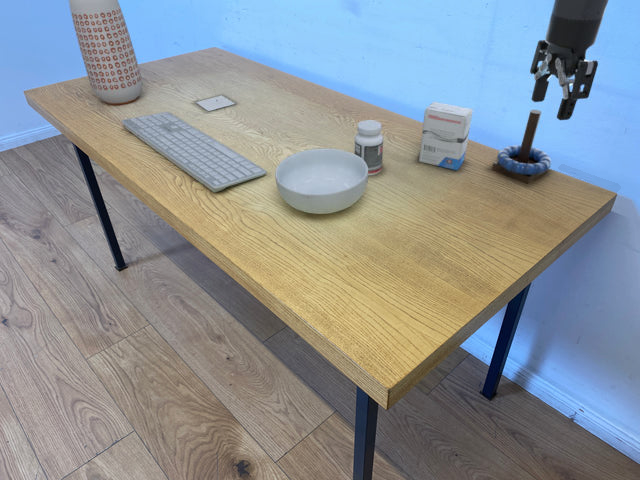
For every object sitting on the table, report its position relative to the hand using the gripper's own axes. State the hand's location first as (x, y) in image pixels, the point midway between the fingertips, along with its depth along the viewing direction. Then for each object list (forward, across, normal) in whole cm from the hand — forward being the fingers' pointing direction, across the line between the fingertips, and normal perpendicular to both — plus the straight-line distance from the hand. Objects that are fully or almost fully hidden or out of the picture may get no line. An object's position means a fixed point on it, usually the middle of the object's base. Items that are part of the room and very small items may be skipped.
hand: (549, 109), depth 85 cm
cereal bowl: (+15, 0, +42) cm, 44 cm away
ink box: (+15, +10, +14) cm, 23 cm away
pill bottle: (+15, +10, +30) cm, 35 cm away
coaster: (+14, +54, +63) cm, 84 cm away
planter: (+15, +62, +89) cm, 110 cm away
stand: (+14, +4, 0) cm, 15 cm away
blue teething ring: (+12, +3, 0) cm, 12 cm away
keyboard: (+15, +27, +68) cm, 75 cm away
